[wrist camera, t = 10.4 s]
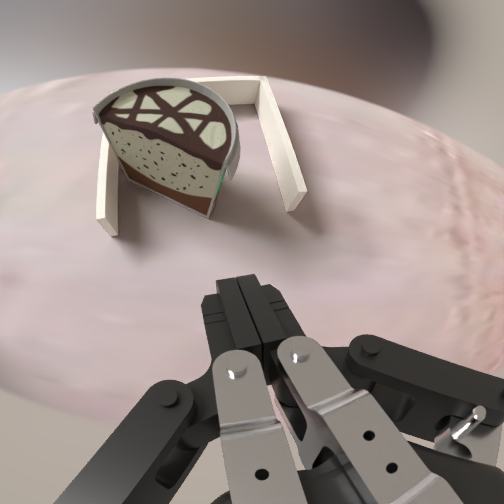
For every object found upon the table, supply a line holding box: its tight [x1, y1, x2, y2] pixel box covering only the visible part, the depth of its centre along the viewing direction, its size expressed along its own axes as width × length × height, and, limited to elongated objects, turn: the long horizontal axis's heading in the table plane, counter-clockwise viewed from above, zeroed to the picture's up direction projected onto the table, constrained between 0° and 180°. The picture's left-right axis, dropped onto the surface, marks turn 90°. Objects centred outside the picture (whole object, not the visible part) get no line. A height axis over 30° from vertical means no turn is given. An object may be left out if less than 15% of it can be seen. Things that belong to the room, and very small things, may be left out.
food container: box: [93, 78, 240, 219], centre depth 21 cm, size 12×6×10 cm, turn 66°
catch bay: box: [96, 76, 307, 236], centre depth 25 cm, size 18×16×4 cm
